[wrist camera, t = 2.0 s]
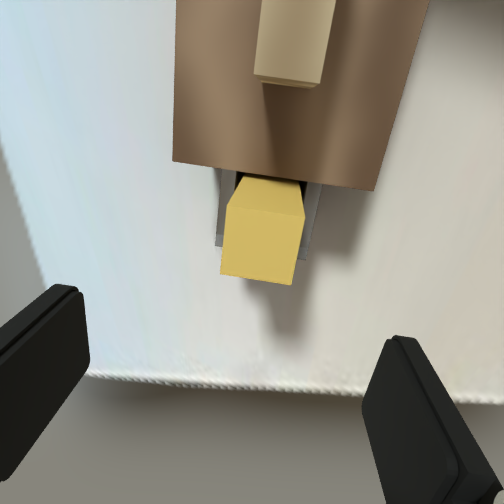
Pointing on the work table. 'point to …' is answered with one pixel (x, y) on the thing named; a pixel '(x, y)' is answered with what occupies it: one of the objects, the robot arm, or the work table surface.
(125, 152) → the work table surface
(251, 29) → the lid
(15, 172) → the work table surface
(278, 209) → the yellow rectangular block
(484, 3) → the work table surface
